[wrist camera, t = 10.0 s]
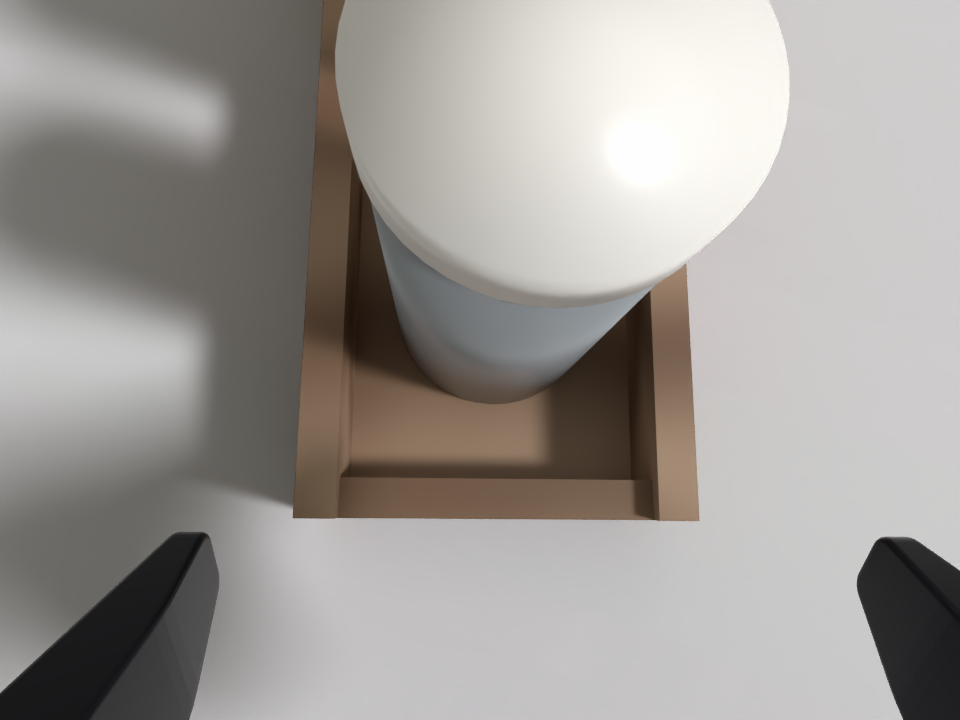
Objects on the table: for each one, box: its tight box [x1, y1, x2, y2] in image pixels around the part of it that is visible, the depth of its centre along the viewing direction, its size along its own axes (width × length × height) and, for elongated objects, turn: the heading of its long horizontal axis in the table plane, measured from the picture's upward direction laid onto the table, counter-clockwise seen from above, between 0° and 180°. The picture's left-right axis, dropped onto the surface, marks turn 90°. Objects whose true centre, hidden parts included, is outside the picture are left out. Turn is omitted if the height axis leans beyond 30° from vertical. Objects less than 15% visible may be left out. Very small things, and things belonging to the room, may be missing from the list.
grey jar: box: [335, 0, 789, 404], centre depth 15 cm, size 6×6×12 cm
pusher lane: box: [293, 0, 699, 521], centre depth 20 cm, size 22×10×5 cm, turn 179°
